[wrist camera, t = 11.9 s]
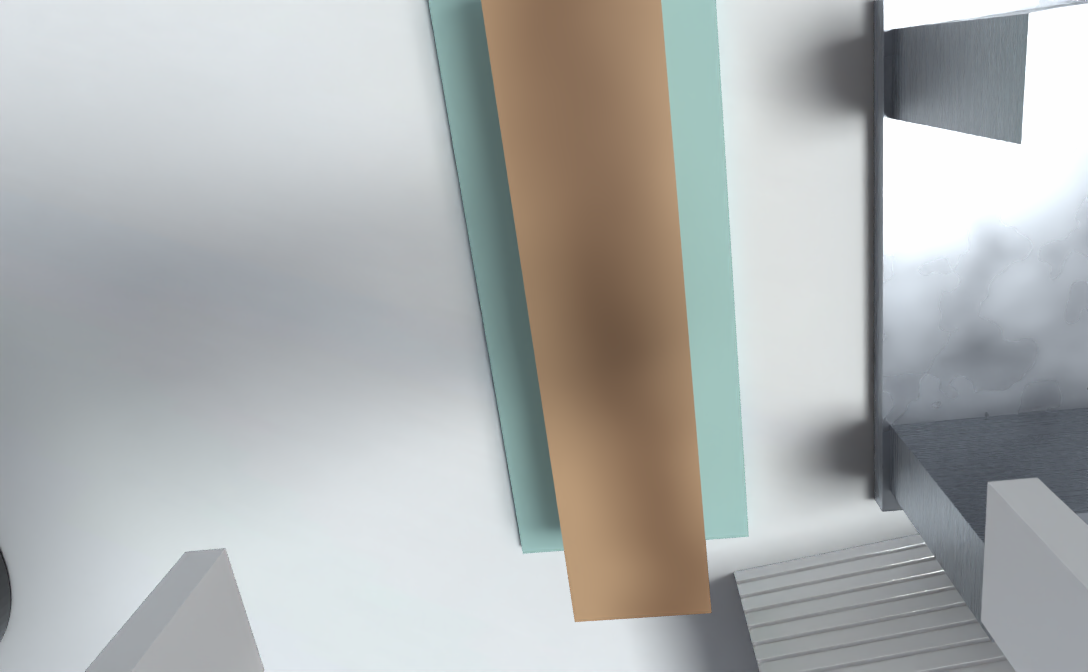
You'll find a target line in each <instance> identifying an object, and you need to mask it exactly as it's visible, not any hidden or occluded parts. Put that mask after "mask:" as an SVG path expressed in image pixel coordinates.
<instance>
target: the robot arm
mask: <svg viewBox="0 0 1088 672" xmlns="http://www.w3.org/2000/svg"><path fill="white" fill-rule="evenodd" d="M10 606H11V595H10V585H9V579H8V575H7V571H6V567H5V564H4V561H3V559H2V556H1V553H0V642H1V640H2V638H3V635H4V633H5V630H6V628H7V624H8V620H9V615H10ZM981 622H982V623H983V625H984V626H985V628H986V629H987V630H988V632H989V633H990V635H991V636H992V638H993V639H994V641H995V642H996V644H997V645H998V647H999V648H1000V649H1001V651H1002V652H1003V654H1004V655H1005V657H1006V658H1007V660H1008V661H1009V663H1010V664H1011V666H1012V667H1013V668H1014V670H1015V671H1016V672H1088V525H1087V524H1086V523H1085V522H1084V521H1083V520H1082V519H1081V518H1080V517H1079V516H1078V515H1076V514H1075V513H1074V512H1073V511H1072V510H1071V509H1070V508H1069V507H1068V506H1067V505H1066V504H1065V503H1064V502H1063V501H1062V500H1061V499H1060V498H1058V497H1057V496H1056V495H1055V494H1054V493H1053V492H1052V491H1051V490H1050V489H1049V488H1048V487H1047V486H1046V485H1045V484H1044V483H1043V482H1042V481H1041V480H1039V479H1038V478H1026V479H1015V480H1003V481H992V482H988V484H987V505H986V526H985V547H984V567H983V588H982V609H981ZM85 672H264V667H263V664H262V661H261V658H260V655H259V652H258V649H257V645H256V642H255V639H254V636H253V633H252V630H251V627H250V624H249V621H248V617H247V614H246V611H245V608H244V605H243V602H242V599H241V596H240V592H239V589H238V586H237V583H236V580H235V577H234V574H233V571H232V568H231V564H230V561H229V558H228V555H227V552H226V549H225V548H223V549H212V550H200V551H189V552H185V553H184V554H183V555H182V557H181V558H180V559H179V560H178V561H177V563H176V564H175V565H174V566H173V567H172V568H171V570H170V571H169V572H168V573H167V574H166V576H165V577H164V578H163V579H162V580H161V582H160V583H159V584H158V585H157V586H156V587H155V589H154V590H153V591H152V592H151V593H150V595H149V596H148V597H147V598H146V599H145V601H144V602H143V603H142V604H141V605H140V606H139V608H138V609H137V610H136V611H135V612H134V614H133V615H132V616H131V617H130V618H129V620H128V621H127V622H126V623H125V624H124V625H123V627H122V628H121V629H120V630H119V631H118V633H117V634H116V635H115V636H114V637H113V639H112V640H111V641H110V642H109V643H108V644H107V646H106V647H105V648H104V649H103V650H102V652H101V653H100V654H99V655H98V656H97V658H96V659H95V660H94V661H93V662H92V663H91V665H90V666H89V667H88V668H87V669H86V671H85Z"/></svg>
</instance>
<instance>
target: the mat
mask: <svg viewBox="0 0 1088 672" xmlns="http://www.w3.org/2000/svg"><path fill="white" fill-rule="evenodd" d="M428 2H429V8H430V14H431V20H432V25H433V31H434V37H435V43H436V49H437V55H438V60H439V66H440V72H441V78H442V84H443V90H444V95H445V101H446V107H447V113H448V119H449V125H450V130H451V136H452V142H453V148H454V154H455V160H456V165H457V171H458V177H459V183H460V189H461V195H462V200H463V206H464V212H465V218H466V224H467V230H468V236H469V241H470V247H471V253H472V259H473V265H474V271H475V276H476V282H477V288H478V294H479V300H480V306H481V311H482V317H483V323H484V329H485V335H486V341H487V346H488V352H489V358H490V364H491V370H492V376H493V381H494V387H495V393H496V399H497V405H498V411H499V416H500V422H501V428H502V434H503V440H504V446H505V451H506V457H507V463H508V469H509V475H510V481H511V486H512V492H513V498H514V504H515V510H516V516H517V521H518V527H519V533H520V539H521V545H522V551H523V554H524V553H537V552H550V551H564V547H563V540H562V533H561V527H560V520H559V513H558V507H557V500H556V494H555V487H554V480H553V474H552V467H551V461H550V454H549V447H548V441H547V434H546V427H545V421H544V414H543V408H542V401H541V394H540V388H539V381H538V375H537V368H536V361H535V355H534V348H533V341H532V335H531V328H530V322H529V315H528V308H527V302H526V295H525V289H524V282H523V275H522V269H521V262H520V255H519V249H518V242H517V236H516V229H515V222H514V216H513V209H512V203H511V196H510V189H509V183H508V176H507V169H506V163H505V156H504V150H503V143H502V136H501V130H500V123H499V117H498V110H497V103H496V97H495V90H494V83H493V77H492V70H491V64H490V57H489V50H488V44H487V37H486V31H485V24H484V17H483V11H482V4H481V0H428ZM661 4H662V16H663V29H664V41H665V53H666V65H667V77H668V89H669V102H670V114H671V126H672V138H673V150H674V163H675V175H676V187H677V199H678V211H679V223H680V236H681V248H682V260H683V272H684V284H685V296H686V309H687V321H688V333H689V345H690V357H691V370H692V382H693V394H694V406H695V418H696V430H697V443H698V455H699V467H700V479H701V491H702V504H703V516H704V528H705V540H709V539H723V538H736V537H749V535H748V519H747V502H746V486H745V470H744V453H743V437H742V421H741V404H740V388H739V372H738V355H737V339H736V323H735V306H734V290H733V274H732V257H731V241H730V225H729V208H728V192H727V176H726V159H725V143H724V127H723V110H722V94H721V78H720V61H719V45H718V29H717V12H716V0H661Z"/></svg>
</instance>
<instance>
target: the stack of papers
mask: <svg viewBox="0 0 1088 672" xmlns="http://www.w3.org/2000/svg"><path fill="white" fill-rule="evenodd" d="M734 575H735V579H736V582H737V586H738V590H739V594H740V598H741V602H742V606H743V610H744V613H745V617H746V621H747V625H748V629H749V633H750V637H751V641H752V645H753V649H754V652H755V656H756V660H757V664H758V668H759V672H1016V671H1015V670H1014V668H1013V667H1012V666H1011V664H1010V663H1009V661H1008V660H1007V658H1006V657H1005V655H1004V654H1003V652H1002V651H1001V649H1000V648H999V647H998V645H997V644H996V642H991V640H990V639H989V637H988V636H987V634H986V633H985V631H984V630H983V628H982V627H981V625H980V624H979V622H978V621H977V619H976V618H975V616H974V615H973V613H972V612H971V610H970V609H969V607H968V606H967V604H966V603H965V601H964V600H963V598H962V597H961V595H960V594H959V592H958V591H957V589H956V588H955V587H954V585H953V584H952V582H951V581H950V579H949V578H948V576H947V575H946V573H945V572H944V570H943V569H942V567H941V566H940V564H939V563H938V561H937V560H936V558H935V557H934V555H933V554H932V552H931V551H930V549H929V548H928V546H927V545H926V543H925V542H924V540H923V539H922V537H921V536H920V534H916V535H911V536H906V537H901V538H896V539H891V540H887V541H882V542H877V543H872V544H867V545H862V546H857V547H853V548H848V549H843V550H838V551H833V552H828V553H824V554H819V555H814V556H809V557H804V558H799V559H794V560H790V561H785V562H780V563H775V564H770V565H765V566H761V567H756V568H751V569H746V570H741V571H736V572H734Z"/></svg>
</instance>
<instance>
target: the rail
mask: <svg viewBox="0 0 1088 672" xmlns="http://www.w3.org/2000/svg"><path fill="white" fill-rule="evenodd" d="M481 4H482V11H483V17H484V24H485V31H486V37H487V44H488V50H489V57H490V64H491V70H492V77H493V83H494V90H495V97H496V103H497V110H498V117H499V123H500V130H501V136H502V143H503V150H504V156H505V163H506V169H507V176H508V183H509V189H510V196H511V203H512V209H513V216H514V222H515V229H516V236H517V242H518V249H519V255H520V262H521V269H522V275H523V282H524V289H525V295H526V302H527V308H528V315H529V322H530V328H531V335H532V341H533V348H534V355H535V361H536V368H537V375H538V381H539V388H540V394H541V401H542V408H543V414H544V421H545V427H546V434H547V441H548V447H549V454H550V461H551V467H552V474H553V480H554V487H555V494H556V500H557V507H558V513H559V520H560V527H561V533H562V540H563V547H564V553H565V560H566V566H567V573H568V580H569V586H570V593H571V599H572V606H573V613H574V619H575V622H581V621H597V620H612V619H628V618H643V617H658V616H674V615H689V614H705V613H711V601H710V589H709V577H708V564H707V552H706V540H705V528H704V516H703V504H702V491H701V479H700V467H699V455H698V443H697V430H696V418H695V406H694V394H693V382H692V370H691V357H690V345H689V333H688V321H687V309H686V296H685V284H684V272H683V260H682V248H681V236H680V223H679V211H678V199H677V187H676V175H675V163H674V150H673V138H672V126H671V114H670V102H669V89H668V77H667V65H666V53H665V41H664V29H663V16H662V4H661V0H481Z"/></svg>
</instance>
